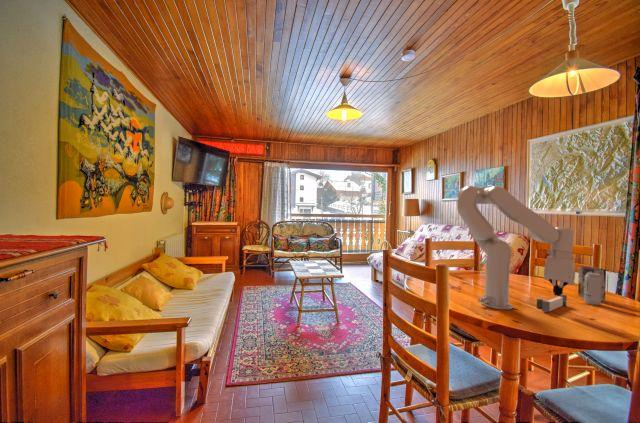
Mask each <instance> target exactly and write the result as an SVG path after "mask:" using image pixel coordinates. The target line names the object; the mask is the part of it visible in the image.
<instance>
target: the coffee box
mask: <svg viewBox="0 0 640 423" xmlns="http://www.w3.org/2000/svg"><path fill="white" fill-rule="evenodd" d="M588 272H589V273H597V274H600V276H601V278H602V285H601V302H606V283H607V281H606V280H607V269H603V268H599V267H595V266H578V285H577V286H578V289H577V290H578V293H577V294H578V296H577V297H580V298H583V299H584V287H585V275H586V274H587V273H588Z"/></svg>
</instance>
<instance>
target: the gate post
mask: <svg viewBox="0 0 640 423" xmlns="http://www.w3.org/2000/svg"><path fill="white" fill-rule="evenodd" d="M557 297H563V306H562V307H567V305H568V304H567V295H566V294H563V293H562V294H561V295H560V296H557Z"/></svg>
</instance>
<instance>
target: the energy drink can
mask: <svg viewBox="0 0 640 423" xmlns="http://www.w3.org/2000/svg"><path fill="white" fill-rule="evenodd" d="M601 285H602V278H601V276H600V274H597V273H589V272H588V273H587V274H586V275H585V287H584V298H583V302H585V304H587V305H590V304H591V306H600V305H601V304H602V301H601Z"/></svg>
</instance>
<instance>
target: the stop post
mask: <svg viewBox="0 0 640 423" xmlns="http://www.w3.org/2000/svg"><path fill="white" fill-rule="evenodd" d="M542 301H544V299H543V298H542V299H541V298H536V309H538V310H542Z"/></svg>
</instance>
